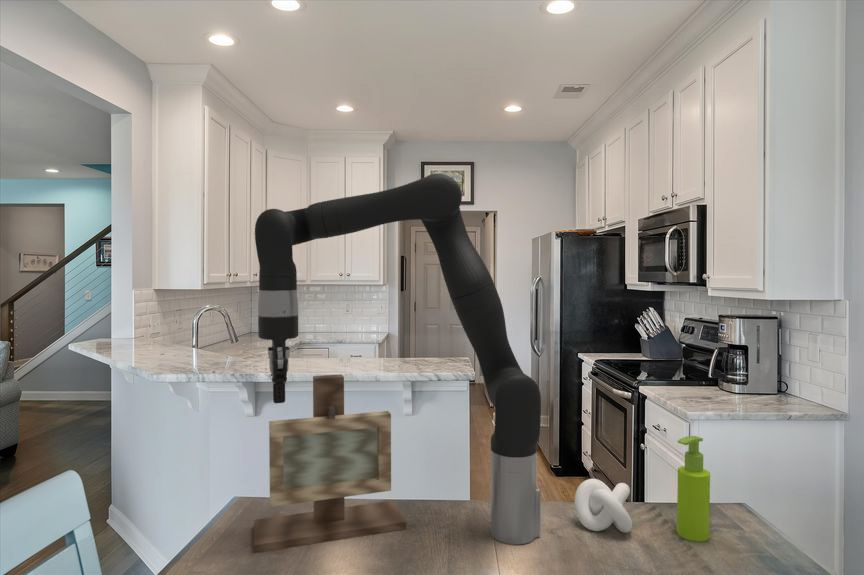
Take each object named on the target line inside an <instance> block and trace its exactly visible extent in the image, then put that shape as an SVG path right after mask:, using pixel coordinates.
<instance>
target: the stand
mask: <svg viewBox="0 0 864 575" xmlns="http://www.w3.org/2000/svg"><path fill="white" fill-rule="evenodd" d="M328 406H333V407H334V408H335V416H336V415H345V377H344V375H343V374H340V373H339V374H331V375H330V374H327V375H313V376H312V415H313V416H312V417H324V416H328ZM406 529H407V520H406V519H405V517H404V516H403V514H402V512H401V511H400V509H399V507H398V506H397V505H396V503H395V502H394V499H393V500H387V501H381V502H380V501H379V502H372V503H366V504H358V505H351V506H345V497H341V498H333V499H326V500H318V501H313V511H308V512H301V513H294V514H293V513H291V514H286V515H285V514H284V515H280V516H279V515H278V516H271V517H265V518H264V517H263V518H258V519H257V518H256V519H253V553H254V554H256V553H263V552H268V551H269V552H270V551H274V550H281V549H282V550H283V549H287V548H295V547H300V546H306V545H307V546H308V545H313V544H320V543H325V542H332V541H339V540H343V539H345V540H346V539H351V538H357V537H358V538H359V537H363V536H370V535H376V534H382V533H383V534H384V533H389V532H395V531H402V530H406Z"/></svg>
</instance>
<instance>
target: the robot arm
mask: <svg viewBox="0 0 864 575" xmlns="http://www.w3.org/2000/svg"><path fill="white" fill-rule="evenodd" d="M462 198H463V193H462V189H461V186H460V185H459V184H458V182H457V180H455V179H454V178H453V177H451V176H449V175H448V174H444V173H431V174H429V175H426V176H425V177H423V178H420V179H416V180H414V181H412V182H408V183H406V184H403V185H401V186H395V187H392V188H389V189H385V190H382V191H376V192H372V193H371V192H370V193H365V194H364V193H363V194H359V195H353V196H346V197H341V198H340V197H339V198H335V199H329V200H324V201H319V202H315V203H312V204H309V205H307V207H304V208H299V209H298V208H297V209H294V210H289V211H288V210H287V211H284V210H282V209H278V208H269V209H266V210H264V211H262V212H261V213H260V214H259V215H258V217H257V219H256V221H255V224H254V225H255V226H254V242H255V249H256V255H257V259H258V264H259V272H258V274H259V275H258V282H259V284H258V288H259V289H258V290H259V291H258V301H257V320H258V321H257V323H258V325H257V326H258V327H257V328H258V330H257V332H258V334H257V335H258V338H259V339H260V340H267V341H268V340H270V341H271V346H268V347H267V355H268V359H269V361H268V362H269V372H270V375H271V382H272V400H273V403H274V404H283V403H285V402H286V383H287V381H288V377H287V373H288V372H289V359H290V355H291V354H290V353H291V351H290V350H291V348H290V347H289V346H287V345H286V342H287V340H291V339H296V338H297V337H299V298H298V289H297V288H298V281H297V280H298V279H297V278H298V275H297V273H298V272H297V265H296V264H295V262H294V259H293V258H294V257H293V246H297V245H300V244H304V243H307V242H312V241H314V240H320V239H328V238H333V237H337V236H338V237H339V236H342V235H343V236H345V235H348V234H354V233H357V232H361V231H365V230H368V229H372V228H375V227H378V226H383V225H385V224H391V223H396V222H402V221H414V220H415V221H416V220H419V221H421V223H422V224H423V226H424V229H425V230H426V231H427V234H428V236H429V237H430V240H431V242H432V245H433V247H434V248H435V251H436V254H437V258H438V261H439V265H440V269H441V273H442V276H443V280H444V282H445V285H446V288H447V291H448V294H449V295H448V296H449V297H450V300H451V302H452V306H453V308H454V310H455V312H456V315H457V317H458V320H459V321H460V324H461V327H462V329H463V331H464V333H465V335H466V337H467V338H468V341H469V343H470V344H471V347H472V348H473V351H474V353H475V355H476V357H477V360H478V364H479V366H480V370H481V374H482V377H483V381H484V384H485V388H486V392H487V395H488V396H487V397H488V398H489V400H490V403H491V404H492V406H493V407H494V430H493V433H492V434H491V436H490V506H489V507H490V513H489V515H490V520H489V525H490V529H489V530H490V531H489V532H490V535H491V537H492V538H493V539H495V540H497V541H499V542H500V543H504V544H509V545H525V544H529V543H531V542H533V541H534V540H535V539H536V538H539V537H541V490H540V488H539V487H537V472H538V471H537V462H538V461H537V459H538V458H537V451H538V450H537V448H538V442H539V440H540V435H541V421H542V420H541V418H542V417H541V416H542V397H541V395H542V394H541V391H540V387H539V385H538V384H537V383H536V381H535V380H534V379H532V377H530V376H529V375H528V374H525V373H524V371H523V370H522V369H521V366H520V365H519V362H518V360H517V359H516V356H515V355H514V352H513V350H512V347H511V345H510V342H509V339H508V332H507V326H506V318H505V313H504V308H503V304H502V300H501V298H500V295H499V293H498V290H497V287H496V285H495V282H494V280H493V277H492V274H490V271H489V269H488V267H487V266H486V263H485V262H484V260H483V259H482V257H481V255H480V254H479V252H478V250H477V249H476V247H475V246H474V244H473V242H472V240H471V239H470V236H469V234H468V231H467V229H466V225H465V222H464V219H463V215H462V211H461V208H460V207H461V204H462Z"/></svg>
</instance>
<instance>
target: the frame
mask: <svg viewBox="0 0 864 575" xmlns="http://www.w3.org/2000/svg"><path fill="white" fill-rule="evenodd" d="M268 432H269V433H268V436H269V437H268V440H269V442H268V446H269V448H268V449H269V450H268V453H269V459H268V460H269V507H270V508H272V507H273V508H274V507H280V506H288V505H293V504H295V505H296V504H301V503H302V504H303V503H308V502H309V503H310V502H314V501H318V500H326V499H333V498H341V497H344V498H346V497H355V496H361V495H362V496H363V495H368V494H377V493H383V492H391V491H392V413H391V412H390V411H388V410H386V411H385V410H384V411H383V410H382V411H374V412H373V411H372V412H362V413H348V414H344V415H336V416H335V408H334V407H333V406H328V416H324V417H313V416H312V417H304V418H303V417H302V418H301V417H300V418H292V419H290V418H289V419H280V420H279V419H278V420H269V421H268Z"/></svg>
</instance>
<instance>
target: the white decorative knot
mask: <svg viewBox="0 0 864 575" xmlns="http://www.w3.org/2000/svg"><path fill="white" fill-rule="evenodd" d="M630 493H631V488H630V487H629V485H628V484H626V483H625V482H619V483H617V484H616V485H615V486H614V488H613V489H612V490H611V489H610V487H608V485H606V483H604V482H603V481H601V480H600V479H598V478H588V479H586V480H584V481H582V482H581V483H580V484H579V486H578V487H577V489H576V491H575V495H574V502H573V503H574V511H575V514H576V516H577V519H578V521H579V522H580V523H581V525H583V527H585V528H586V529H588V530H590V531H592V532H593V531H594V532H601V531H604V530H606V529H608V528H609V527H610V526H611V525H612V524H613V525H614V526H615V527H616V529H617V530H618V531H620V532H622V533H625V534H627V533H630V532H631V531H632V530H633V521H632V518H631V516H630V515H629V513H628V511H627V510H626V508H625V507H624V506H623V505H624V503H625V502H626V500H627V499H628V497H629V495H630Z"/></svg>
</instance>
